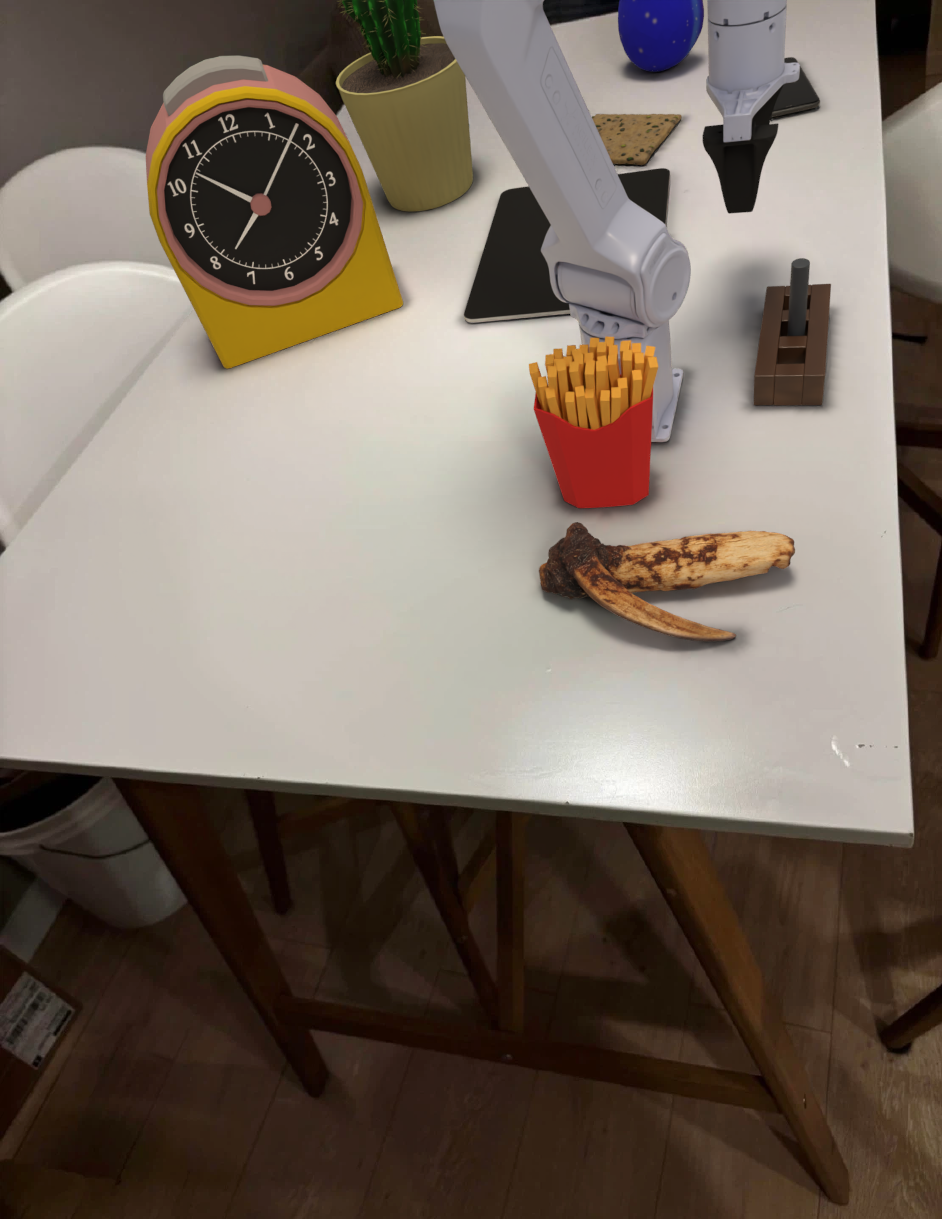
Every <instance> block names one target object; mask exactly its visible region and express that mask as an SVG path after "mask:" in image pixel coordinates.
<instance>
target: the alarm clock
mask: <svg viewBox="0 0 942 1219" xmlns="http://www.w3.org/2000/svg"><path fill="white" fill-rule="evenodd" d="M162 99H163V100H162V101H163V103H162V105H161V107H160V109H159V111H158V112H157V114H156V116H155V118H154V120H153V122H152V124H151V127H150V129H149V136H148V139H147V140H148V141H147V146H146V152H145V171H146V172H145V174H146V189H147V199H148V214H149V216H150V219H151V222H152V225H153V227H154V230H155V234H156V236H157V238H158V241H159V244H160V246H161V247H162V250H163V251H164V253H165V255H166V257H167V260H168V261H169V264H170V265H171V267H172V269H173V271H174V273H175V274H176V277H177V280H178V281H179V282H180V285H181V287H182V289H183V290H184V292H185V294H186V296H187V298H188V300H189V302H190V304H191V306H192V308H193V310H194V312H195V314H196V316H197V318H198V320H199V321H200V324H201V326H202V328H203V330H204V332H205V333H206V335H207V338H208V339H209V341H210V343H211V345H212V347H213V350H214V351H215V353H216V355H217V357H218V359H219V361H220V363H221V365H222V366H223V368H224V369H232V368H235V367H238V366H240V365H243V364H246V363H248V362H251V361H255V360H257V359H260V358H263V357H266V356H269V355H271V354H274V353H276V352H280V351H282V350H285V349H288V348H290V347H293V346H297V345H299V344H302V343H304V342H308V341H310V340H314V339H316V338H319V337H321V336H324V335H327V334H330V333H332V332H333V333H334V332H336V331H339V330H341V329H344V328H347V327H350V326H352V325H355V324H358V323H361V322H363V321H366V320H370V319H372V318H375V317H378V316H380V315H383V314H386V313H388V312H391V311H394V310H398V309H400V308H401V307H403V305H404V300H403V297H402V293H401V290H400V287H399V284H398V281H397V278H396V274H395V271H394V268H393V264H392V262H391V261H392V260H391V258H390V256H389V252H388V249H387V245H386V242H385V239H384V236H383V232H382V229H381V226H380V223H379V219H378V216H377V213H376V209H375V206H374V203H373V200H372V197H371V193H370V190H369V187H368V184H367V181H366V178H365V175H364V171H363V168H362V166H361V164H360V162H359V159H358V157H357V156H356V153H355V151H354V149H353V147H352V144H351V142H350V141H349V138H348V136H347V134H346V132H345V130H344V128H343V126H342V124H341V122H340V120H339V118H338V116H337V115H336V114H335V112H334V111H333V109H332V108H331V107H330V106H329V105H328V104H327V102H326V101H325V99H323V97H322V96H321V95H320V93H318V92H316V90H314V89H313V88H311V87H310V86H309V85H307V84H306V83H304V82H303V81H302V80H301V79H299V78H298V77H297V76H296V75H292V74H290V73H288V72H285V71H282V70H280V69H278V68H275V67H272V66H270V65H268V64H263V62H262V60H261V59H260V58H258V57H251V56H245V55H219V56H215V57H210V58H206V59H204V60H202V61H200V62H197V63H195V64H193V65H190V66H189V67H188V68H187V69H185V70H184V71H182V72H181V73H180V74H179V75H177V77H175V78H174V79H173V81H171V83H170V84H169V85H168V86H167V87H166V88H165V89H164V91H163V93H162Z"/></svg>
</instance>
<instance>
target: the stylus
mask: <svg viewBox="0 0 942 1219" xmlns="http://www.w3.org/2000/svg"><path fill="white" fill-rule="evenodd" d="M810 269H811V261H810V259H808V258H804V257H800V258H796V259H794V260H793V261H791V265H790V278H789V279H790V280H789V286H790V297H789V315H788V333H787V336H805V325H806V311H807V298H808V285H810V284H809V281H810Z"/></svg>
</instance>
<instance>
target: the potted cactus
mask: <svg viewBox="0 0 942 1219" xmlns="http://www.w3.org/2000/svg"><path fill="white" fill-rule="evenodd" d="M335 2H339V3H338V4H337V6H336V7H337V8H335V10H337V9H339V8H340V5H342V7H344V10H343V11H341V12H340V14H342V15H341V18H343V17H344V16H345V15H347V16H349V18H351V19H353V22H352V28H354V27H353V26H354V24H355V22H356V23H358V24H359V26H358V27H356V28H355V30H358V32H360V33H361V34H360V35H359V40H361V38H362V37H364V41H365V42H364V43H362V44H360V45H359V47H362V46H364V45H365V44H366V46H364V47H363V50H364V49H366V50H368V51H369V52H368V53H367V54H364V55H362V56H361V57H359V58H358V59H355V60H354V61H352V62H351V63H350V64H348V65H347V66H346V67H344V69H343V70H341V72H339V75H338V76H337V77H336V81H335V85H336V88H337V89H338V92H339V94H340V97H341V100H342V103H343V104H344V107H345V109H346V111H347V114H348V115H349V117H350V119H351V122H352V124H353V126H354V128H355V130H356V133H357V135H358V137H359V139H360V141H361V144H362V146H363V148H364V150H365V153H366V155H367V157H368V159H369V162H370V164H371V166H372V168H373V170H374V172H375V174H376V178H377V180H378V181H379V184H380V186H381V189H382V190H383V193H384V194H385V197H386V199H387V201H388V202H389V204H390V205H391V207H392V208H393V209H396V210H398V211H402V212H411V213H412V212H413V213H414V212H423V211H429V210H433V209H436V208H440V207H442V206H445V205H448V204H449V203H452V202H454V201H455V200H457V199H459V198H460V197H461V196H463V195H464V194H465V193H466V192H467V191H469V189H470V188H471V187H472V184H473V180H474V172H473V158H472V146H471V132H470V131H471V130H470V121H469V120H470V119H469V108H468V107H469V106H468V95H467V92H468V91H467V81H466V80H467V78H466V76H465V75H464V73H463V71H462V69H461V68H460V66H459V64H458V62H457V61H456V59H455V57H454V55H453V54H452V52H451V50H450V48H449V47H448V45H447V43H446V41H445V39H444V36H443V35H442V36H441V35H436V36H435V35H434V36H433V35H432V34H430V35H431V36H423V35H425V33H424V31H425V30H421V25H420V24H421V22H422V21H426V20H428V19H426V18H425V17H426V16H425V15H424V16H423V19H422V16H420V14H422V12H421V11H420V10H423V9H424V8H422V5H421V6H418V5H420V2H418V0H337V1H335ZM419 13H420V14H419ZM424 18H425V19H424ZM347 19H348V17H346V18H345V20H347ZM350 21H351V20H349V22H348V23H350ZM421 36H422V37H421ZM359 40H358V41H359Z"/></svg>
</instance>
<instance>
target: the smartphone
mask: <svg viewBox="0 0 942 1219" xmlns="http://www.w3.org/2000/svg"><path fill="white" fill-rule="evenodd" d="M784 63H799V61H798V60H797V58H796V57H794V56H788V57H785V58H784ZM820 104H821V99H820V97H819V95H818V93H817V92H816V90H815V88H814V86H813V85H812V83H811V81H810V80H809V78H808V76H807V75H806V73H805V71H804V70H803V68H802V67H801V65H800V74H799V79H798V80H797V81H795V82H791V83H785V84H784V85H783V87H782V89H781V91H780V94H779V96H778V98H777V101H776V103H775V106H774V109H773V112H772V115H771V118H775V117H779V116H780V117H781V116H785V115H789V114H793V113H798V112H803V111H808V110H812V109H816V108H818V107H819V106H820Z"/></svg>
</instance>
